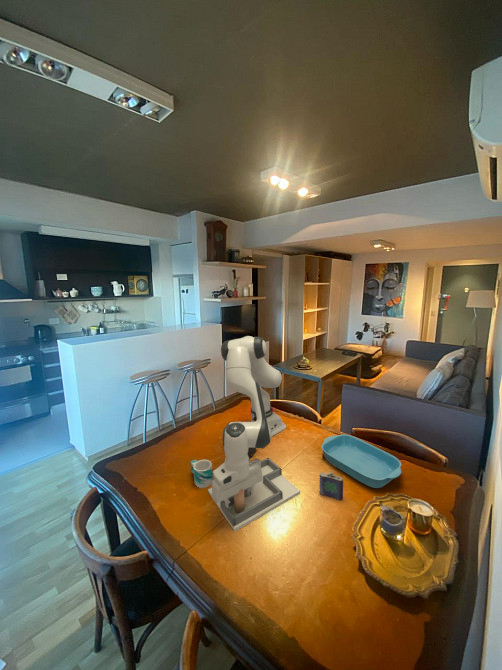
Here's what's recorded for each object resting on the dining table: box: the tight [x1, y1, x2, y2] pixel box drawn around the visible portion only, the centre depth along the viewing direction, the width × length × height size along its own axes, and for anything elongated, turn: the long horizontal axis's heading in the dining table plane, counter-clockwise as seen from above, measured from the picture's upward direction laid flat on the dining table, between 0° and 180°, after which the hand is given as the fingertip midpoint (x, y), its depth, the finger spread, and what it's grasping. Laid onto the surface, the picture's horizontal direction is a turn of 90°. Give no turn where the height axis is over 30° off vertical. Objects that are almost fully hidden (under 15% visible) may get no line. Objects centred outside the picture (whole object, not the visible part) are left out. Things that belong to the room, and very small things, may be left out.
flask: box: [318, 470, 344, 501], centre depth 110 cm, size 9×3×11 cm, turn 65°
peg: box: [234, 489, 245, 514], centre depth 103 cm, size 4×4×10 cm
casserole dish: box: [320, 434, 402, 489], centre depth 127 cm, size 37×22×7 cm, turn 35°
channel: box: [207, 457, 301, 532], centre depth 113 cm, size 31×23×4 cm
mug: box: [189, 459, 214, 489], centre depth 122 cm, size 8×12×8 cm
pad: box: [230, 504, 248, 516], centre depth 104 cm, size 7×7×1 cm
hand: (239, 500), depth 103 cm, fingers open, 8 cm apart
